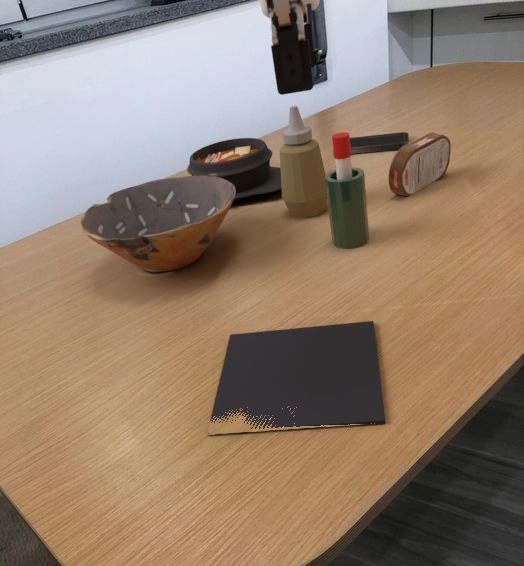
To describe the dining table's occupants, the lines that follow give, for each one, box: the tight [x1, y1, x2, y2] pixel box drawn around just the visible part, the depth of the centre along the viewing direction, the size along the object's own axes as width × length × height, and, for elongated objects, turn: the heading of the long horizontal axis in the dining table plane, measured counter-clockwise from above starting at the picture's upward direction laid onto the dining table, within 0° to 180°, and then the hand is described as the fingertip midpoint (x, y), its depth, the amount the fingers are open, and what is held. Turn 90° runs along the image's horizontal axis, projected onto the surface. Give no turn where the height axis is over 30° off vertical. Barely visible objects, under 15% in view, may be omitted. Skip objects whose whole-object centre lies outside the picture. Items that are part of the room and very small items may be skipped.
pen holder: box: [325, 167, 370, 250], centre depth 89 cm, size 6×6×11 cm
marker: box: [331, 131, 353, 180], centre depth 88 cm, size 2×2×16 cm
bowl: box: [79, 175, 236, 273], centre depth 96 cm, size 25×25×10 cm
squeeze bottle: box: [279, 105, 328, 219], centre depth 100 cm, size 8×8×18 cm
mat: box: [209, 320, 386, 429], centre depth 68 cm, size 18×18×1 cm
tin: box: [388, 132, 452, 197], centre depth 103 cm, size 15×3×8 cm, turn 133°
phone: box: [350, 131, 410, 155], centre depth 128 cm, size 8×1×15 cm
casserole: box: [186, 137, 282, 202], centre depth 118 cm, size 25×19×8 cm
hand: (298, 79), depth 58 cm, fingers open, 9 cm apart
